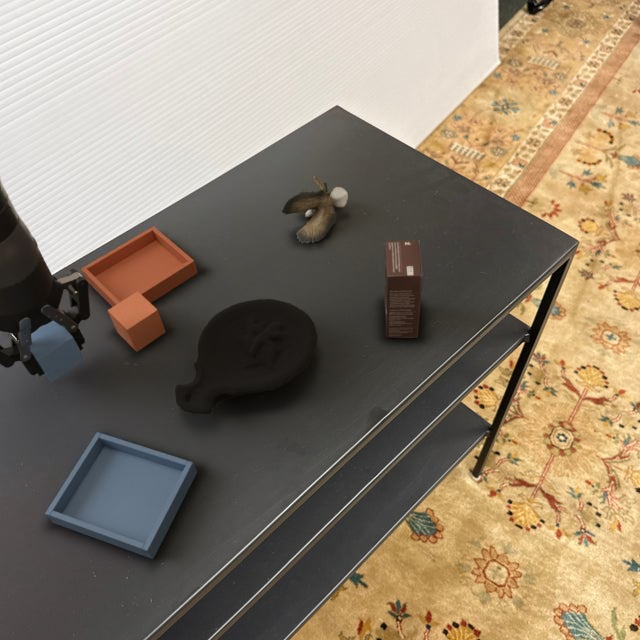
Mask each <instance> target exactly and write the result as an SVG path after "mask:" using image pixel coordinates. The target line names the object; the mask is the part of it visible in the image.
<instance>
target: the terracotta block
mask: <svg viewBox="0 0 640 640" xmlns="http://www.w3.org/2000/svg"><path fill="white" fill-rule="evenodd" d="M107 312H108V314H109V317H110V319H111V321H112V324H113V325H114V328H115V330H116V332H117V334H118V335H119V336H120V337H121V338H122V339H123V340H124V341H125V342H126V343H127V344H128V345H129V346H130V347H131V348H132V349H133V350H134V351H135V352H136V353H137V352H139V351H141V350H142V349H143V348H145V347H146V346H147V345H149V344H151V343H152V342H154V341H155V340H156V339H158V338H159V337H161V336H162V335H164V334H165V333H166V330H165V326H164V323H163V321H162V318H161V315H160V313H159V310H158V309H157V308H156V307H155V305H153V304H152V303H150V302H149V301H148V300H147V299H146V298H144V297H143V296H142V295H141V294H140V293H139V292H138V291H137V292H136V293H134V294H133V295H131V296H129V297H128V298H126V299H125V300H123V301H121V302H120V303H118V304H117V305H115V306H114V307H112V306H111V307H110V308H109V309H108V310H107Z"/></svg>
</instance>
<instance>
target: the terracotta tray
mask: <svg viewBox="0 0 640 640" xmlns="http://www.w3.org/2000/svg"><path fill="white" fill-rule="evenodd" d="M80 270H81V272H82V274H83V277H84V278H85V279H86V280H87V282H88V285H90V286H91V287H92V288H93V290H95V291H96V292H97V293H98V294H99V295H100V296H101V297H102V299H104V300H105V301H106V302H107V303H108V304H109V305H110V306H111V308H112V307H114V306H115V305H117V304H118V303H120V302H121V301H123V300H125V299H126V298H128V297H129V296H131V295H133V294H134V293H136V292H137V291H138V292H139V293H140V294H141V295H142V296H143V297H144V298H146V299H147V300H148V301H149V302H150V303H151V304H152V303H153V302H155V301H156V300H158V299H160V298H162V296H164V295H166V294H167V293H169V292H171V291H172V290H174V289H175V288H177V287H178V286H180V285H181V284H183V283H184V282H187V281H188V280H189V279H191V278H192V277H194V276H195V275H197V274H198V272H199V271H198V269H197V266H196V262H195V260H194V259H193V258H191V257H190V256H189V255H188V254H187V253H186V252H185V251H184V250H182V249H181V248H180V247H179V246H178V245H176V244H175V243H174V242H173V241H171V239H169V238H168V237H167V236H165V235H164V233H163V232H161V231H160V230H158V229H157V228H156V227H155V226H152V227H150V228H148V229H146V230H144V231H143V232H141V233H139V234H138V235H137V236H135V237H133V238H131V239H129V240H128V241H126V242H124V243H123V244H121V245H119V246H118V247H116V248H114V249H113V250H111V251H109V252H107V253H106V254H104V255H102V256H101V257H98V258H97V259H95V260H94V261H92V262H90V263H89V264H87V265H85V266H83V267H82V268H80Z"/></svg>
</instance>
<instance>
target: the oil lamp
mask: <svg viewBox="0 0 640 640" xmlns="http://www.w3.org/2000/svg"><path fill="white" fill-rule="evenodd" d="M318 336H319V335H318V332H317V327H316V325H315V322H314V321H313V319H312V318H311V316H309V314H308V313H306V311H304V310H303V309H300V308H299V307H297V306H296V305H294V304H292V303H290V302H286V301H282V300H277V299H273V298H258V299H252V300H246V301H242V302H238V303H235V304H232V305H230V306H228V307H226V308H224V309H222V310H221V311H219V312H217V313H216V314H215V315H214V316H213V317H212V318H210V319H209V321H208V322H207V324H206V325H205V326H204V328H203V329H202V331H201V334H200V336H199V339H198V343H197V358H196V361H194V363H193V367H194V370H195V376H194V379H193V380H191V382H189V383H185V384H179V383H178V384H176V385H175V386H174V397H175V403H176V405H177V406H178V407H179V409H180V410H181V411H182V412H184V413H189V414H193V415H209V414H210V415H211V414H212V413H214V407H215V406H216V405H218V404H219V403H221V402H223V401H225V400H229V399H231V398H234V397H241V396H245V395H250V394H261V393H266V392H269V391H272V390H275V389H277V388H279V387H281V386H284V385H285V384H287V383H289V382H290V381H292V380H293V379H295V378H296V377H297V376H299V374H301V373H302V372H303V371H304V370H305V369H306V368H307V366H308V365H309V364H310V362H311V361H312V359H313V357H314V355H315V352H316V349H317V344H318Z"/></svg>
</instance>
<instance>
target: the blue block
mask: <svg viewBox="0 0 640 640" xmlns="http://www.w3.org/2000/svg"><path fill="white" fill-rule="evenodd" d="M31 338H32V345H31V346H30V348H31V353H32V355H33V356H34V357H35V359H36V360H37V362H38V364H39V365H40V367H41V368H42V370H43V371H44V373H45V374H44V375H45V376H46V378H48V380H49V381H50V382H51V383H52V382H54V381H56V380H57V379H59V378H60V377H61V376H63V375H66V373H67V372H69V371H71V370H72V369H74V368H75V367H77V366H79V365H80V364H81V363H83V362H84V361H86V358H85V357H84V355H83V353H82V350H81V351H80V349H79V347H78V345H77V344H76V342H75V340H74V338H73V336H72V335H71V334H70V333H69V332H68V331H67V330H66V329H65V328H64V327H63V326H60V325H59V324H57V323H56V322H54V321H52V322H50V323H48V324H46V325H43V326H41V327H40V328H39V329H37V330H36V331H35V332H33V333H32V334H31Z"/></svg>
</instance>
